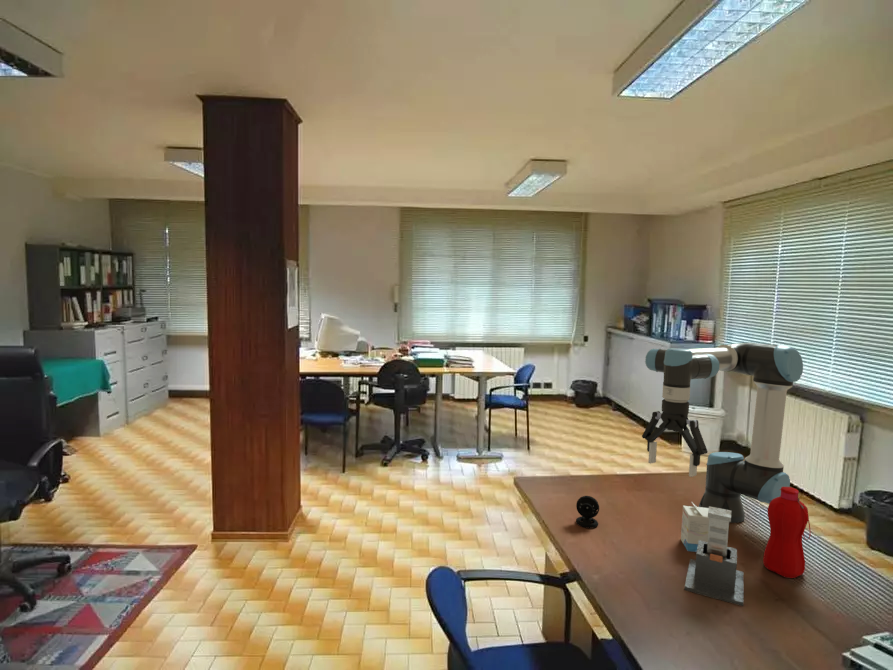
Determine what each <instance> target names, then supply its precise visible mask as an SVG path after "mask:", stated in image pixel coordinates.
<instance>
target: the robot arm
mask: <svg viewBox="0 0 893 670" xmlns="http://www.w3.org/2000/svg"><path fill="white" fill-rule="evenodd" d="M644 363H645V366H646V367H647V368H648V370H650V371H653V372H656V373H663V382H662V396H661V397H662V398H663V399H662V400H661V411H659V410H656V411H653V412H652V413H651V419H650V421H649V422H648V423H647V426H646V427H645V430H644V432H643V433H642V434H641V438H642V439H645V440H646V442H647V447H646V451H647V452H648V462H647V464H650V465H651V464H655V463H656V462H657V448H658V442H657V441H656V440H657V439H658V437H660V436H661V435H662V434H663V433H664V432H665V431H666V430H668V431H672V432H674V433H677V432H678V433H679V435H680V436H681V437H682V439H684V442H685V443H686V445H687V447H688V448H689V450H690V451H691V453H690V454H689V463H688V464H689V469H688V477H689V478H690V477H691V478H692V477H695V476H697V475H698V473H697V472H698V466H700V464H701V455H702V456H703V455H706V454H708V449H707V447H706V444H705V441H704V438H703V435H702V433H701V430H700V427H699V420H698V419H689V418H688V417H689V414H690V413H689V411H690V402H689V401H690V398H691V397H690V396H691V381H692V380H700V379H704V380H705V379H706V380H707V379H709V378H713V377H716V375H718V374H719V371H721V372H731V373H737V374H742V375H747V376H753V379H752V382H753V383H754V385H756V387H757V390H756V399H755V405H754V406H755V408H754V415H753V417H754V418H753V426H752V433H751V434H752V435H751V445H750V452H749V453H750V454H749V455H747V456H746V457H745V458H744V455H743V454H741V453H738V452H728V451H715V452H712V453H709V455H707V462H706V471H705V472H706V474H705V487H704V488H705V489H704V493H703V495H702V497H701V499H700V501H699V503H698V507H703V508H709V506H711V507H716V508H721V509H726V510H731V522H729V524H730V523H731V524H732V523H733V524H734V523H735V524H737V523H742V522H744V521H745V516H746V515H745V514H746V512H745V511H744V510H745V509H744V506H743V502H742V499H741V496H745V497H748V498H749V499H750V498H751V499H754V500H756V501H758V502H760V503H765V504H768V505H769V503H770V502H771V501H772V500H773V499H775V498H777V497H780V496H781V490H779V489H781V487H791V486H790V485H791V478H790V476H789V474H788V473H786V472H784V466H785V465H784V464H783V462H782V461H780V455H781V447H782V435H783V429H784V428H783V427H784V418H785V412H786V411H785V410H786V401H787V394H788V393H787V392H788V390H790V389H791V388H793V387H794V383H795V382H798V381H799V380H800V379H801V378H802V375H803V373H804V372H803V371H804V363H803V357H802V356H801V354H800V352H799V351H798V350H797V349H796V348H795V347H793V346H789V345H788V346H787V345H782V344H771V343H770V344H769V343H768V344H767V343H759V342H758V343H757V342H738V343H728V344H720V345H718V346H717V347H707V348H706V347H704V348H702V347H701V348H678V347H677V348H676V347H670V348H667V349H661V348H652V349H649V350H648V352H647V353H646V355H645V361H644ZM660 420H661V421H662V422H661V423H660V424H659V425H658V423H659V421H660ZM657 425H658V427H657ZM656 427H657V428H656Z"/></svg>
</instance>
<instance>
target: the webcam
mask: <svg viewBox="0 0 893 670" xmlns="http://www.w3.org/2000/svg"><path fill="white" fill-rule="evenodd" d="M575 507H576V511H577V512H578V514H579V515H580V516H579V517H576V519H575V523H576V525H578V526H579V527H581V528H584V529H595V528H597V527H598V526H599V522H598V520H597V519H595V517H596V516H598V514H599V512H600V505H599V502H598V501H597V499H596V498H594V497H592V496H591V495H584V496H583V495H582V496H581V497H579V498H578V499H577V501H576V505H575Z"/></svg>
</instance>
